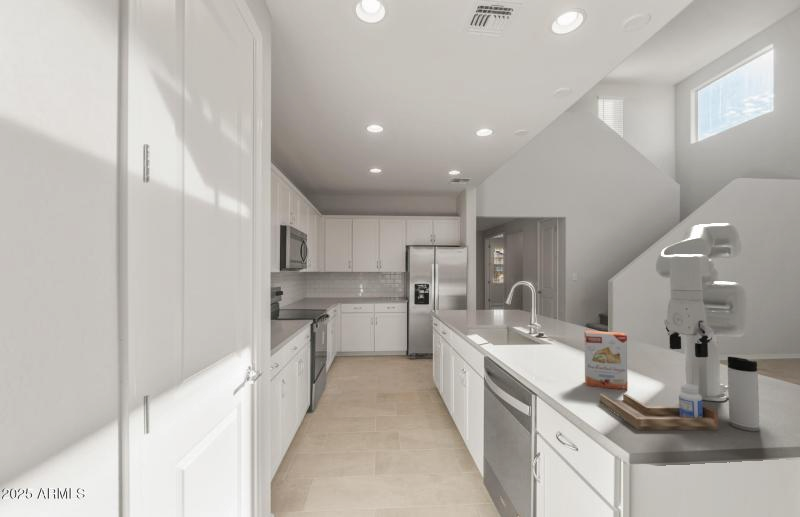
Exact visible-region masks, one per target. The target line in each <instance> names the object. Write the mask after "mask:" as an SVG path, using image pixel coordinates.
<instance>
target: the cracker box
mask: <svg viewBox="0 0 800 517" xmlns="http://www.w3.org/2000/svg"><path fill="white" fill-rule="evenodd" d="M583 335H584V382H585V384H586V386H588V387H597V388H604V389H613V388H615V390H622V389H628V387H629V386H628V385H629V384H628V335H626V334H625V333H624V332H617V331H616V332H615V331H613V332H612V331H600V330H599V331H597V330H584V333H583Z"/></svg>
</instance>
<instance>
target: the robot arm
mask: <svg viewBox="0 0 800 517" xmlns="http://www.w3.org/2000/svg"><path fill="white" fill-rule="evenodd" d="M741 250H742V244H741V239H740V233H739V232H738V230H737V228H736V226H734V225H733V224H731V223H728V222H725V223H724V222H723V223H710V224H709V223H708V224H697V225H693V226H691V227H688V228H687V229H686V230H685V231H684V234H683V236H682V239H681V241H678V242H675V243H674V244H671V245H667V246H666V247H664V248H663V249H662V250H661V251H659V255H658V257H657V259H656V263H655V270H656V273H657V275H659V277H661V278H665V279H669V284H670V285H669V287H670V299H669V300H668V304H667V310H666V319H665V320H664V321H663V323H664V325H665V330H666V332H667V336H668V338H669V349H670V350H682V336H680V335H683V340H684V364H685V365H684V369H685V370H684V371H685V384H689V385H694V386H697V387H698V391H699V392H698V394H699V395H701V397H702V401H709V402H724V401H727V399H728V396H727V394H725V393H726V392H728V385H725V384H723V383H721V356H720V347H719V345H718V344H717V342H716V341H715V340H714V339H713V336H721V337H731V338H733V337H734V338H735V337H736V338H741V337H743V336H745V335H746V333H747V330H748V310H747V309H748V308H747V307H748V306H747V293H746V292H747V291H746V289H745V287H744V286H743V285H742V284H741V283H739V282H734V281H719V272H718V270H717V269H716V268H715V264H714V261H713V259H734V258H736V257H738V256H739V255H740V254H741V252H742V251H741ZM681 391H682V390H681V389H680V392H681Z"/></svg>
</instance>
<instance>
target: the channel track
mask: <svg viewBox="0 0 800 517" xmlns="http://www.w3.org/2000/svg"><path fill="white" fill-rule="evenodd" d="M622 398H623V399H611V398H609V397H608V396H606V395H605V394H604V393H599V404H600V405H602V404H603V405H604V406H603V405H602V406H603V407H605V406H606V407H607V408H606V407H605V408H606V409H608V408H609V409H610V410H609V409H608V410H609V411H611V410H612V411H613V412H615V413H616V414H618V415H619V416H620V417H622V418H623V419H625V420H626V421H627V422H629V423H630V424H631V425H630V424H629V423H628V424H629V425H630V426H632V427H633V426H634V427H633V428H635V429H636V430H637V429H638V430H639V431H646V430H647V431H649V430H650V431H651V430H652V431H666V430H667V431H699V430H700V431H718V430H719V421H718V420H719V419H718V411H715V410H713V409H712V408H710V407H708V406H706V405H703V404H702V406H703V418H681V417H680V409H679V406H647V405H646V404H644V403H642V402H640V401H639V400H637V399H635V398H634V397H632V396H630V395H629V394H627V393H623V394H622ZM612 411H611V412H612ZM613 412H612V413H613ZM615 413H614V414H615ZM616 414H615V415H616ZM618 415H617V416H618ZM619 416H618V417H619ZM620 417H619V418H620ZM622 418H621V419H622ZM623 419H622V420H623ZM625 420H624V421H625ZM626 421H625V422H626ZM627 422H626V423H627Z"/></svg>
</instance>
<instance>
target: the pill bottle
mask: <svg viewBox="0 0 800 517" xmlns="http://www.w3.org/2000/svg"><path fill="white" fill-rule="evenodd" d="M681 390H682V391H681ZM698 392H699V391H698V387H697V386H694V385H689V384H686V383H683V384H681V385H680V391H679V393H678V402H679V404H678V407H679V409H680V417H681V418H703V406H704V405H703V400H702V397H701V395H699V394H698ZM702 405H703V406H702Z"/></svg>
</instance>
